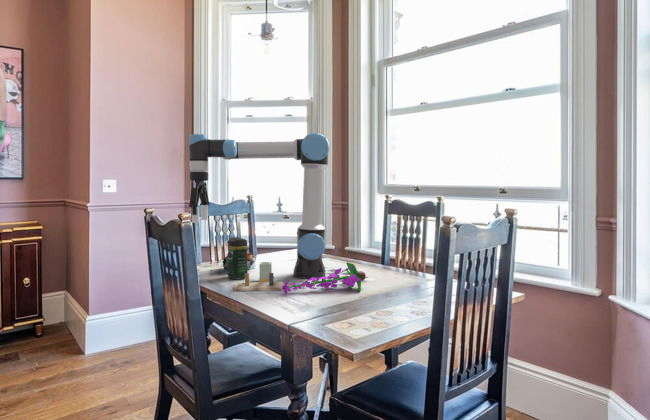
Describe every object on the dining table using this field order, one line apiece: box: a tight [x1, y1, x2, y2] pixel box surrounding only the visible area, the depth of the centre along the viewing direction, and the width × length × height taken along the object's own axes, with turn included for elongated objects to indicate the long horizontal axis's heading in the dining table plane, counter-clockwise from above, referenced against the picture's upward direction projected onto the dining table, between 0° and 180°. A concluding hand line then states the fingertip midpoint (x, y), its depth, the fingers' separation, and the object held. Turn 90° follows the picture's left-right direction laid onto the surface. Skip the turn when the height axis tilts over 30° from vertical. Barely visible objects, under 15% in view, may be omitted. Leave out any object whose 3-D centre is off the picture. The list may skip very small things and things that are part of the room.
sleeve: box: [259, 261, 273, 282], centre depth 188 cm, size 5×5×8 cm
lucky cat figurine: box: [222, 250, 257, 272], centre depth 208 cm, size 15×12×14 cm
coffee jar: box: [227, 236, 249, 280], centre depth 194 cm, size 10×8×19 cm
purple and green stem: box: [282, 262, 367, 295], centre depth 171 cm, size 12×16×35 cm
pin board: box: [232, 272, 285, 292], centre depth 176 cm, size 20×10×6 cm, turn 95°
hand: (200, 221), depth 181 cm, fingers open, 13 cm apart
